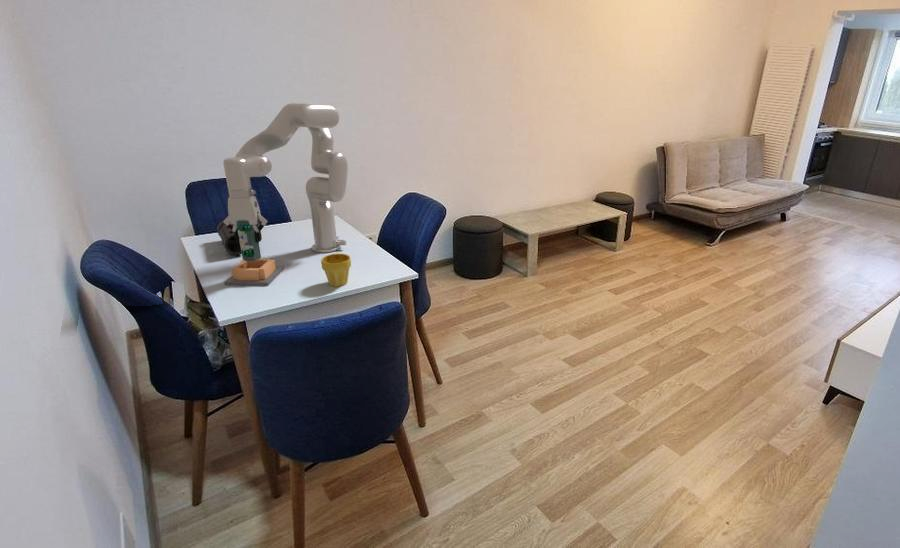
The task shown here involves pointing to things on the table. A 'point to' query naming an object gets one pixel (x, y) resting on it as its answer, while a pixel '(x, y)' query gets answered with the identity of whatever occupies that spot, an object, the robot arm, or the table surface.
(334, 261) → the plant pot
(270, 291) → the table surface
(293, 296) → the table surface
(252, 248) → the can
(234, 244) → the muzzle brake
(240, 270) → the socket block
